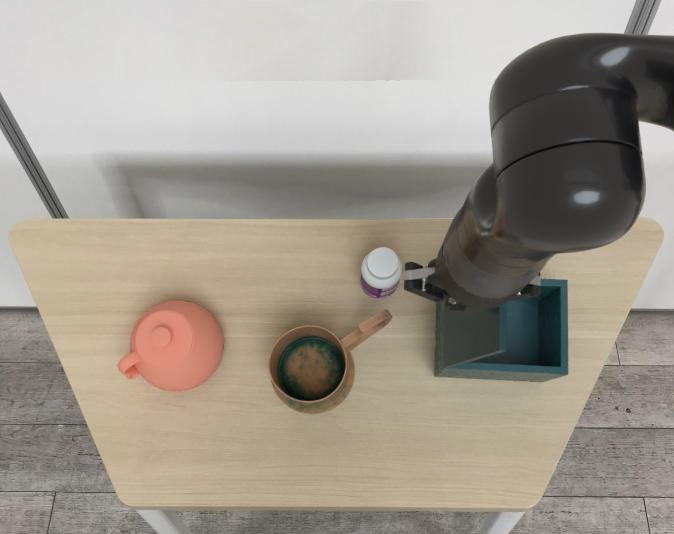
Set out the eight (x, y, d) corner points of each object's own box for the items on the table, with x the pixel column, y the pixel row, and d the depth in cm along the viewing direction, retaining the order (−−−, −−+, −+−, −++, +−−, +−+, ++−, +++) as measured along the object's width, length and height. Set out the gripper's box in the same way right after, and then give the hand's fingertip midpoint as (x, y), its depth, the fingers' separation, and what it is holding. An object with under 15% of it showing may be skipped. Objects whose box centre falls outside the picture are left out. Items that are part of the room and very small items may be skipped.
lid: (507, 233, 60) (500, 232, 60) (506, 351, 58) (499, 350, 58) (451, 273, 76) (445, 272, 75) (448, 368, 74) (442, 367, 73)
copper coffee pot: (407, 363, 84) (417, 350, 72) (297, 429, 83) (288, 428, 71) (364, 293, 86) (366, 270, 74) (255, 357, 85) (240, 344, 73)
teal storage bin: (543, 298, 85) (567, 279, 76) (543, 382, 83) (568, 374, 74) (436, 293, 86) (447, 274, 76) (434, 376, 84) (445, 368, 74)
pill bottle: (385, 307, 86) (389, 291, 76) (353, 288, 86) (353, 269, 77) (405, 275, 86) (412, 255, 77) (373, 256, 87) (375, 234, 77)
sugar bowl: (242, 364, 85) (228, 353, 75) (153, 416, 84) (126, 412, 74) (200, 290, 87) (180, 270, 76) (113, 340, 86) (81, 326, 76)
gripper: (578, 207, 48) (519, 269, 65) (408, 201, 48) (394, 264, 65) (579, 301, 46) (519, 339, 64) (405, 293, 47) (392, 333, 64)
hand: (456, 300), depth 64 cm, fingers closed
